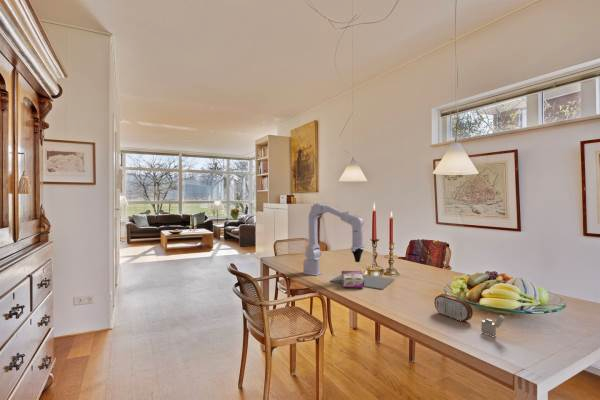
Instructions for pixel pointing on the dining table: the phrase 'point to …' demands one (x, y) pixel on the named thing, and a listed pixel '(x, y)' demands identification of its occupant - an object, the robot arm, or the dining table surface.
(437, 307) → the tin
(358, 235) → the robot arm
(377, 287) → the slate placemat
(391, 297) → the dining table surface
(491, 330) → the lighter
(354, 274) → the candy bar box
